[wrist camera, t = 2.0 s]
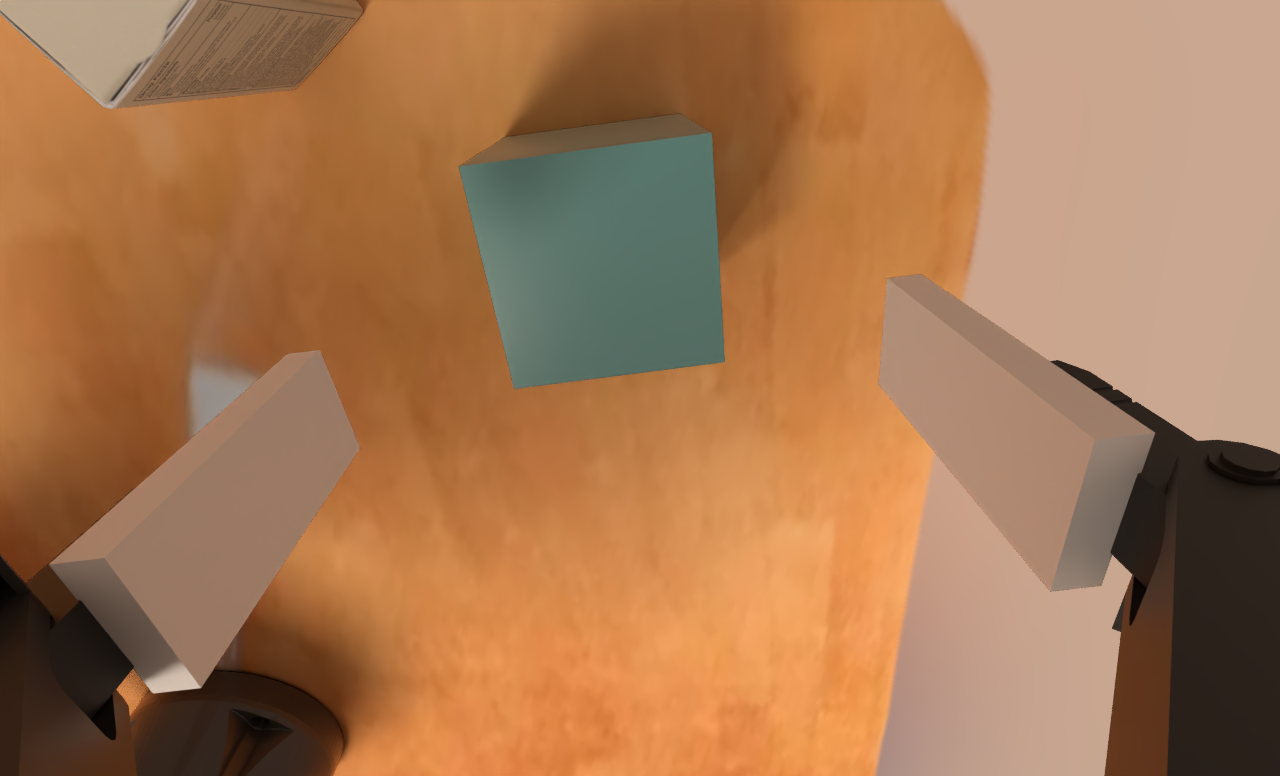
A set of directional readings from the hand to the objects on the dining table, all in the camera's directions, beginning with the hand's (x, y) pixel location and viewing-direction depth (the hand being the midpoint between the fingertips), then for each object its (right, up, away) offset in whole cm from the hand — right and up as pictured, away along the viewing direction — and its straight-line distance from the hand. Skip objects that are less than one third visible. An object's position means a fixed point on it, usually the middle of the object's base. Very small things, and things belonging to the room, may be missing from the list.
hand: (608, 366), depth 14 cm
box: (-14, +15, +11) cm, 24 cm away
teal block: (-1, +8, +15) cm, 17 cm away
